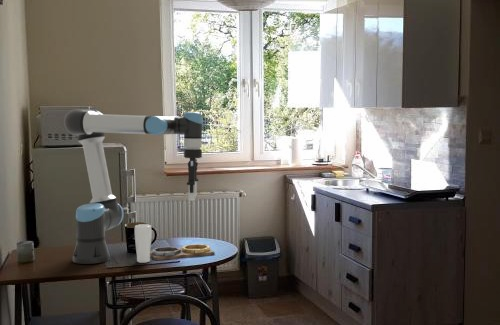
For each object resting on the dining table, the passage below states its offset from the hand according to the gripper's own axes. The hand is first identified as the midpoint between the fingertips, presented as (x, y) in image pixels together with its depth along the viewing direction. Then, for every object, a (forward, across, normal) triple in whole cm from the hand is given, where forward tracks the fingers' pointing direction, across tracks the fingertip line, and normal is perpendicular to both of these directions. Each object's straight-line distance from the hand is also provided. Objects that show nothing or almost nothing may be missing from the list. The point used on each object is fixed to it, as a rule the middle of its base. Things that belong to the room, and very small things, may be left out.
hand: (192, 198), depth 248 cm
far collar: (+24, +6, -1) cm, 24 cm away
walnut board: (+25, +4, +5) cm, 26 cm away
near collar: (+24, +2, +11) cm, 26 cm away
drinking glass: (+26, -9, +20) cm, 33 cm away
